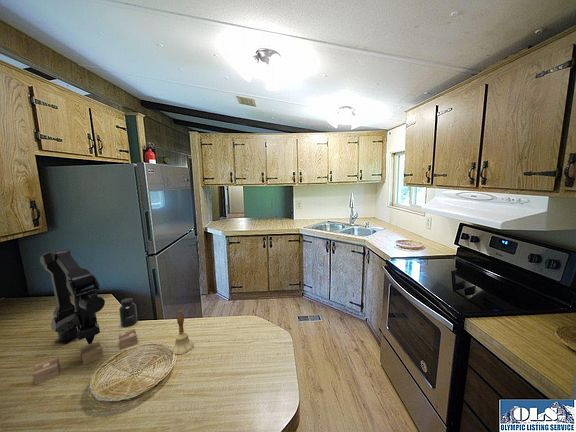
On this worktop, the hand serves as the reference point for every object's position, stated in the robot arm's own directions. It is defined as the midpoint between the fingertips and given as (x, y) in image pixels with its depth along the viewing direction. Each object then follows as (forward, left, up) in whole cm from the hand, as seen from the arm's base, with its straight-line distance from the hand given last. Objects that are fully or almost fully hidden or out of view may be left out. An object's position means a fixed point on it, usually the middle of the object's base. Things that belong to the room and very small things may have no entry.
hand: (90, 343), depth 95 cm
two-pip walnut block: (+8, +9, -6) cm, 13 cm away
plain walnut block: (0, 0, -6) cm, 6 cm away
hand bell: (+33, +9, -6) cm, 35 cm away
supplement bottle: (-4, +23, -6) cm, 24 cm away
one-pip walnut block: (-7, -10, -6) cm, 14 cm away
